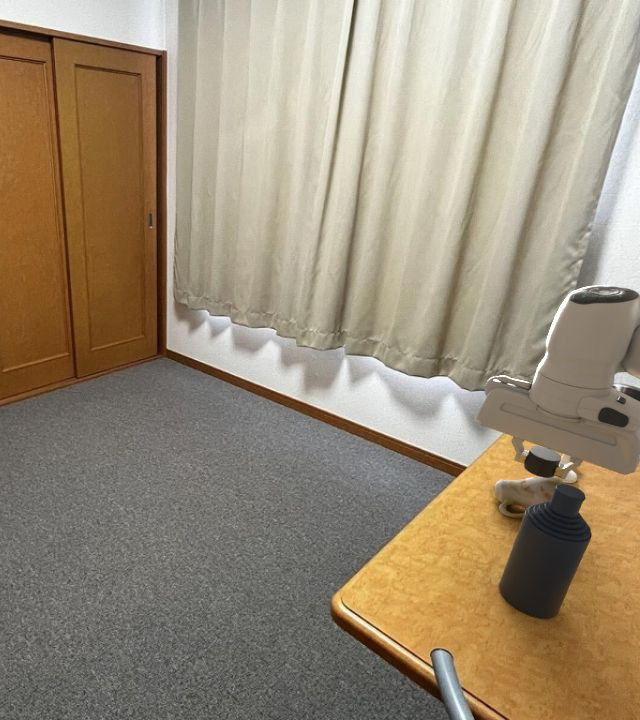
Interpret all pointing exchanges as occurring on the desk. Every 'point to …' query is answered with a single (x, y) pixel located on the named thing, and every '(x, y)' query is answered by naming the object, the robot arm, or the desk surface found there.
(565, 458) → the chess piece
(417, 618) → the desk surface
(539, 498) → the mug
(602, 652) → the desk surface
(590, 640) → the desk surface
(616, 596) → the desk surface
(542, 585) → the flask
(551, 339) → the robot arm
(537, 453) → the stopper
